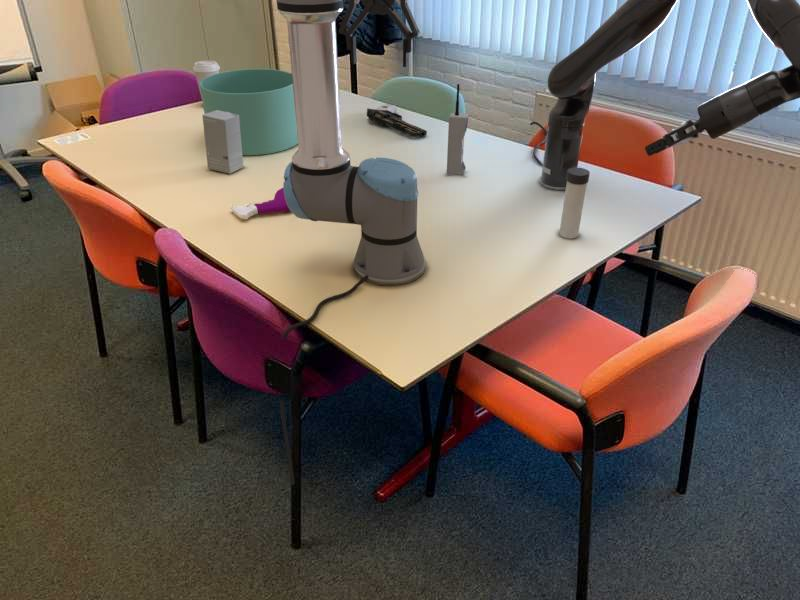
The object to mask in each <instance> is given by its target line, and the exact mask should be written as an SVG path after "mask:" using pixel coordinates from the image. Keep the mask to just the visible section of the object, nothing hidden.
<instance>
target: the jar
mask: <svg viewBox="0 0 800 600" xmlns="http://www.w3.org/2000/svg"><path fill="white" fill-rule="evenodd" d="M587 185H588V183H586V184H573V183H570V182H568V181H567V185H566V190H565V192H564V199H563V205H562V212H561V219H560V224H559V225H560V226H559V236H560V237H562V238H564V239H569V240H571V239H572V240H573V239H576V238H578V237H579V232H580V226H581V219H582V215H583V209H584V202H585V197H586V190H587Z"/></svg>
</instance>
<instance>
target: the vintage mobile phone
mask: <svg viewBox="0 0 800 600" xmlns="http://www.w3.org/2000/svg"><path fill="white" fill-rule="evenodd" d="M469 115H470V114H469V113H465V112H464V113H462V112H460V83H457V84H456V101H455V112H451V113H449V117H448V129H447V130H448V131H447V132H448V133H447V153H446V154H447V155H446V175H447V176H457V177H458V176H460V177H464V176H465V174H466V170H467V168H466V165H465V162H464V147H465V146H464V144H465V135H466V132H467V131H468V130H467V129H468V124H469Z"/></svg>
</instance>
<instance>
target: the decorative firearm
mask: <svg viewBox="0 0 800 600" xmlns="http://www.w3.org/2000/svg"><path fill="white" fill-rule="evenodd" d="M397 110H398V107H397V105H393V104H388V103H385V104H382V105H379V106H378V107H376V108H369V107H367V108H366V117H367V118H368V119H369V120H370V121H373V122H374V123H377V124H379V125H382V126H383V127H384V126H389V127H391V128H393V129H395V130H397V131H399V132H401V133H404V134H406V135H408V136H411V137H415V138H416V137H419V138H424V137H426V136H427V132H428V130H426V129H423V128H421V127H420V126H416V125H413V124H411V123H409V122H406V121H405V120H403V115H401V114H399V113H397Z"/></svg>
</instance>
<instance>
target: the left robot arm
mask: <svg viewBox="0 0 800 600" xmlns="http://www.w3.org/2000/svg"><path fill="white" fill-rule="evenodd" d="M360 1H361V3H362V4H363V6H364V7H363V9H362V10H361V12H360V13H359V15H358V16H357V18H355V20H354V22H353V23H352V24H351V25H350V22H351V19H352V17H353V14H354V12H355V9H356V7H357V4H359V3H360ZM395 3H397V5H398V6H399V7H400V8H401V11H402V13H403V15H404V18H405V20H406V22H407V25H408V26H407V25H406V23H405V22H404V20H403V19H402V18H401V16H400V15H399V14H398V12H397V11H396V9H395V8H394V5H395ZM276 8H277V12H278V13H279V14H280V15H281V16H282V17H283V18H284V19H285V20H286V25H287V37H288V47H289V56H290V67H291V68H290V69H291V73H292V81H293V92H294V103H295V114H296V125H297V137H298V144H297V146H298V149H297V151H295V152H294V154H293V155H292V156H291V161H290V162H289V163H288V164H287V166H286V167H285V170H284V173H283V180H284V182H283V184H282V185H283V186H282V188H284V195H285V199H286V203H287V205H288V208H289V209H290V212H291V213H292V215H294V217H296V218H298V219H302V220H309V221H312V222H329V223H339V224H349V225H359V226H360V239H359V242H358V247H357V249H356V252H355V256H354V259H353V270H354V273H355V275H356V276H357V277H358V278H359V279H360V280H359V281H357V282H356V283H355V285H353V287H351V288H350V289H349V290H347V291H345V292H342V293H340V294H336V295H332V296H328V297H327V298H324V299H323V300H321V301H320V302H319V304H317V306H316V308H315V310H314V311H313V313H312V315H311V316H310V317H309V318H308V319H306V320H302V321H300V322H296V323H294V324H292V325H289V327H287V328H286V329H285V331H284V332H283V333H282V335H281V337H280V340H285V339H286V338H287V336H288V335H289V333H291V331H293V330H295V329H297V328H300V327H303V326H307V325H308V324H310V323H311V322H313V321H314V320H315V319H316V318H317V316H318V314H319V312H320V310H321V308H322V307H323V306H324V305H325V304H327V303H329V302H331V301H334V300H337V299H341V298H344V297H347V296H349V295H351V294H352V293H354V292H355V291H356V290H357V289H358V288H359V287H360V286H361V285H362V284H364V282H366V283H369V284H370V285H371V284H372V285H376V286H382V287H395V286H402V285H406V284H410V283H413V282H415V281H417V280H418V279H420V278H421V276H423V274H424V273H425V270H426V261H425V255H424V252H423V250H422V247H421V244H420V241H419V238H418V198H419V189H418V177H417V173H416V171H415V170H414V169H413V168H412V167H411V166H409V164H407V163H405V162H403V161H400V160H398V159H393V158H389V157H376V158H374V157H369V158H366V159H364V160H362V161H361V162H360V163H359V164H358V166H355V165H354V166H353V165H351V155H350V153H349V152H348V151H347V150H345V149H344V148H343V142H342V141H343V140H342V121H341V119H342V118H341V101H340V84H339V83H340V82H339V81H340V80H339V63H338V43H337V41H338V40H337V25H336V23H337V22H336V20H337V18H338V17H339V15H340V14H342V12H343V10H344V0H276ZM368 14H370V15H372V16H373V15H374V16H375V15H380V16H385V15H387V16H388V17H389V18H390V19H391V20H392V21H393V23H394V24H395V25H396V27H397V28H398V29H399V30H400V32H401V33H402V35H403V36H404V38H403V39H402V68H407V66H409V54H410V53H411V52H412V51H413V39H414V38H418V37H419V35H420V34H421V33H420V30H419V27H418V25H417V23H416V21H415V18H414V16H413V13H412V11H411V9H410V7H409V3H408V0H349V5H348V6H347V9H346V11H345V14H344V17H343V19H342V22H341V23H340V26H339V29H338V34H339V35H343V36H345V38H346V40H345V41H346V49H347V51H350V65H355V64H356V63H357V61H358V60H357V36H356V34H355V35H354V33H355V32H356V30H357V29H358V27H360V25H361V24H362V23H363V21H364V20H365V18H366V17H367V16H368ZM349 25H350V27H349V28H348V26H349ZM408 27H409V28H408ZM279 409H280V418H281V424H282V432H283V438H284V444H285V449H286V456H287V462H288V470H289V478H290V484H291V485H292V486H293V485H295V475H294V474H295V473H294V467H293V466H294V465H293V461H292V453H291V448H290V447H291V446H290V441H289V435H288V428H287V421H286V413H285V405H284V399H279Z"/></svg>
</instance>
